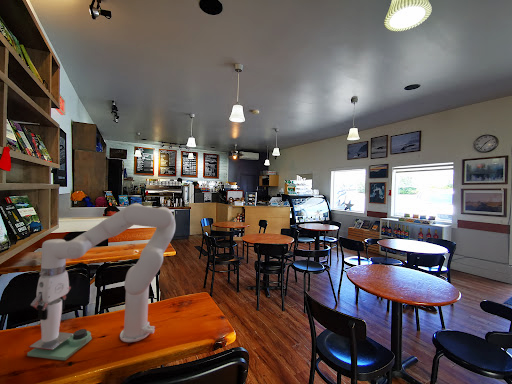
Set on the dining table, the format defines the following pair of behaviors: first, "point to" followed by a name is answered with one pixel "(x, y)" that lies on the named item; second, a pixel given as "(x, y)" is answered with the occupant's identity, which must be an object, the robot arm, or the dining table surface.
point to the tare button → (80, 334)
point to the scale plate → (52, 342)
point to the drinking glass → (51, 321)
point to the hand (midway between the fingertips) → (51, 313)
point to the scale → (62, 349)
